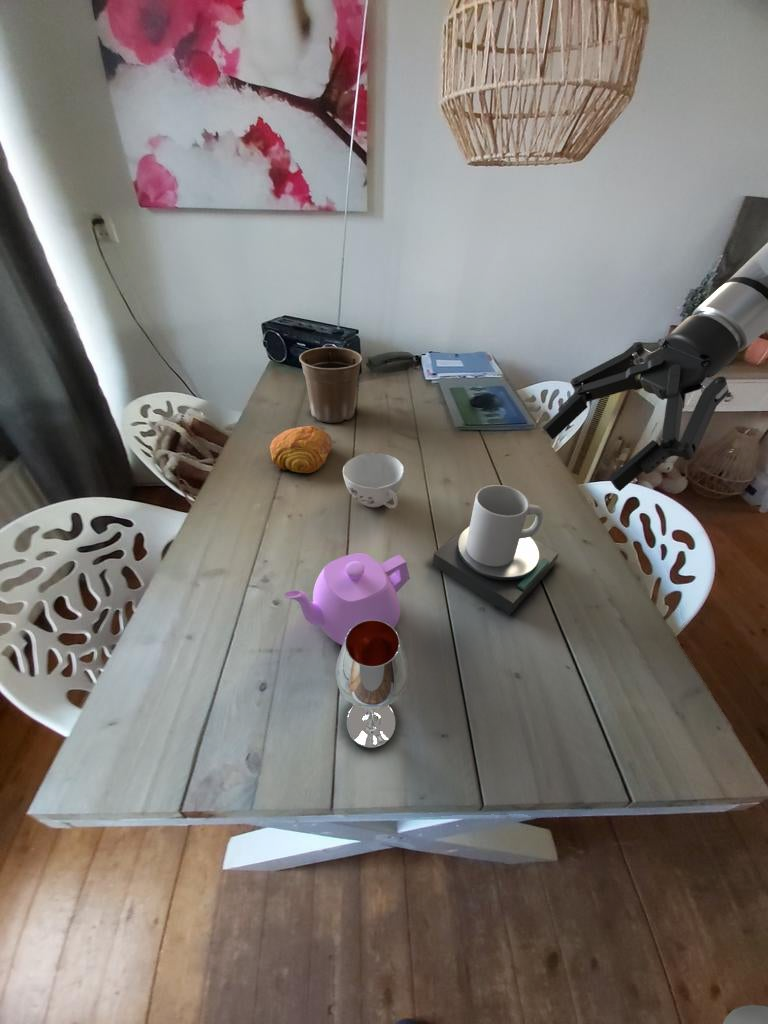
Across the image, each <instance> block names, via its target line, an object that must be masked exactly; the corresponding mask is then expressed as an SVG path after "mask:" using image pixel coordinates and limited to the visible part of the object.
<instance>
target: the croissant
mask: <svg viewBox="0 0 768 1024" xmlns="http://www.w3.org/2000/svg"><path fill="white" fill-rule="evenodd" d="M331 438H332V437H331V436H330V434H329V433H328V432H326V431H324V430H323V429H320V428H318V427H316V426H313V425H305V426H299V427H293V428H290V429H287V430H284V431H282V432H281V433H279V434H278V435H277V436H275V437H274V438H273V439H272V440H271V442H270V446H269V450H270V452H269V453H270V455H271V456H270V457H271V461H272V463H274V465H275V466H276V467H277V468H278V469H282V470H283V471H288V470H289V471H291V472H294V473H301V474H303V473H304V474H310V473H314V472H316V471H318V470H319V469H320V468H321V467H322V466H323V465H324V464H325V463H326V460H327V458H328V456H329V453H330V452H331V450H332V439H331Z"/></svg>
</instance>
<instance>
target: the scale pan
mask: <svg viewBox="0 0 768 1024" xmlns="http://www.w3.org/2000/svg"><path fill="white" fill-rule="evenodd" d="M469 527H470V526H469ZM469 527H468V528H466V527H465V528H466V529H465V528H464V529H465V530H464V531H463V532H462V534H461V535H460V537H459V541H458V551H459V554H460V556H461V558H462V559H463V561H464V562H465V563H466V564H467V565H468V566H469V567H470V568H471V569H473V570H474V571H476V572H477V573H479V574H481V575H484V576H486V577H489V578H493V579H498V580H516V579H520V578H523V577H525V576H527V575H529V574H530V573H532V572H533V571H534V569H535V568H536V566H537V564H538V561H539V551H538V548H537V546H536V544H535V542H534V541H533V540H532V539H533V538H532V537H528V538H522V539H519V543H518V546H517V550H516V554H515V556H514V558H513V560H512V561H511V562H510V563H508V564H506V565H503V566H498V567H492V566H486V565H483V564H481V563H479V562H477V561H475V560H474V559H473V558H472V557H471V556H470V555H469V554H468V552H467V549H466V541H467V536H468V532H469ZM531 538H532V539H531Z"/></svg>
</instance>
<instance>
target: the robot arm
mask: <svg viewBox="0 0 768 1024" xmlns="http://www.w3.org/2000/svg"><path fill="white" fill-rule="evenodd" d="M767 330H768V242H766V243H765V244H764V245H763V246H762V247H761V248H760V249H759V250H758V251H757V252H756V253H755V254H754V255H752V257H750V259H749V260H748V261H746V262H745V264H743V265H742V266H741V267H740V268H739V269H738V270H737V271H736V272H735V273H734V274H732V276H731V277H730V278H729V279H728V280H726V281H725V282H724V283H723V284H722V285H721V286H720V287H718V288H717V289H716V290H715V291H714V292H713V293H712V294H711V295H710V296H709V297H708V298H707V299H705V300H704V301H703V302H702V303H701V304H700V305H699V306H698V307H696V308H695V309H694V311H693V312H692V313H691V315H690V316H687V317H686V318H685V319H684V320H683V321H682V322H681V323H679V325H677V326H676V327H675V328H674V329H673V330H672V331H671V332H670V333H669V334H668V335H667V336H666V338H665V339H664V341H663V342H662V344H661V345H660V347H659V348H657V349H655V350H653V351H649V350H648V349H647V348H645V346H644V344H643V342H642V341H637V342H635V343H633V344H632V345H631V346H630V347H629V348H627V349H626V350H625V351H623V352H621V354H619V355H616V356H614V357H612V358H611V359H608V360H606V361H604V362H603V363H600V364H599V365H597V366H595V367H593V368H591V369H589V370H587V371H585V372H583V373H581V374H579V375H577V376H575V377H574V378H571V380H570V385H571V387H572V389H573V390H574V392H573V394H572V395H570V397H569V398H567V399H566V400H565V401H564V402H563V403H562V404H561V405H560V406H559V407H558V409H557V410H558V412H556V414H555V415H554V416H552V417H551V418H550V420H549V421H548V422H546V423H545V424H544V425H543V426H542V429H543V431H544V432H545V433H546V434H547V436H548V437H549V438H550V439H551V440H554V439H555V438H556V437H558V435H560V433H562V432H563V431H564V430H565V429H566V428H567V427H568V426H569V425H570V424H571V423H573V422H574V421H575V420H576V419H577V418H578V417H579V416H580V415H581V414H582V413H583V412H584V411H585V410H587V408H588V402H592V401H596V400H598V399H603V398H605V397H609V396H612V395H613V396H614V395H616V394H619V393H622V392H627V391H631V390H634V391H639V390H642V389H643V391H645V392H646V393H648V394H653V395H655V396H656V397H657V398H658V399H660V400H661V401H664V400H666V403H665V411H664V417H663V423H662V431H661V432H662V433H661V438H659V439H658V441H659V443H660V444H659V443H658V442H657V441H655V440H653V439H652V440H651V441H650V442H648V443H647V444H646V445H645V446H644V447H642V449H641V450H639V451H638V452H637V453H636V454H634V455H633V456H632V457H631V458H630V459H629V460H627V462H625V463H624V464H623V465H622V466H621V467H620V468H619V469H618V470H616V471H615V472H614V473H613V474H612V475H611V476H609V477H608V480H609V481H610V482H611V484H612V485H613V487H614V488H615V489H616V490H617V491H618V492H621V491H622V490H624V489H625V488H626V487H627V486H628V485H629V484H630V483H632V482H633V481H634V480H635V479H636V478H637V477H638V476H639V475H641V474H642V473H644V474H645V475H648V474H650V473H652V472H654V471H655V470H656V469H657V468H658V467H660V466H661V464H663V463H664V462H665V461H666V460H667V459H669V458H671V457H678V458H682V459H683V460H685V461H690V460H692V459H694V458H695V455H696V454H697V451H698V449H699V446H700V445H701V442H702V441H703V437H704V435H705V434H706V431H707V428H708V426H709V424H710V422H711V420H712V417H713V415H714V413H715V411H716V409H717V407H718V405H719V404H720V403H722V401H723V400H724V399H725V398H726V397H727V396H728V395H729V393H730V391H729V387H728V386H729V385H728V382H727V379H726V377H724V376H718V377H715V378H713V377H714V376H716V375H717V374H718V373H719V372H721V371H722V370H723V369H724V368H726V367H727V366H728V365H729V364H730V363H731V362H732V361H733V360H734V359H736V357H737V356H738V353H740V352H742V351H744V350H745V349H746V348H747V347H749V346H750V345H751V344H752V343H753V342H754V341H756V340H757V339H758V338H759V337H760V336H761V335H762V334H763V333H765V332H766V331H767ZM638 376H639V377H638ZM698 390H700V393H701V394H700V396H699V397H698V400H697V403H696V405H695V407H694V408H693V410H692V413H691V415H690V418H689V419H688V422H687V424H686V426H685V429H684V431H683V433H682V435H681V437H680V432H681V425H682V416H683V410H684V408H685V405H686V404H685V403H686V396H687V394H690V393H693V392H696V391H698ZM722 1024H768V1006H765V1005H757V1004H749V1005H744V1006H742V1005H741V1006H740V1007H739V1006H738V1007H737V1008H734V1009H732V1010H731V1011H730V1012H729V1013H728V1014H727V1015H726V1016H725V1018H724V1020H723V1022H722Z"/></svg>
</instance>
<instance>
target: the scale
mask: <svg viewBox="0 0 768 1024" xmlns="http://www.w3.org/2000/svg"><path fill="white" fill-rule="evenodd" d="M469 526H470V524H468V525H467V526H466V527H464V528H463V529H462V530H461V531H460V532H458V533H457V534H456V535H455V536H454V537H452V538H451V539H450V540H448V541H447V542H446V543H445V544H443V545H442V546H441V547H440V548H438V549H437V550H436V551H435V552H434V553H433V557H432V567H434V568H436V569H438V570H439V571H440V572H442V573H444V574H445V575H447V576H448V577H450V578H451V579H453V580H454V581H456V582H458V583H459V584H461V585H462V586H463V587H465V588H467V589H468V590H469V591H471V592H473V593H475V594H476V595H477V596H479V597H481V598H482V599H484V600H485V601H487V602H488V603H490V604H491V605H493V606H494V607H496V608H497V609H498V610H500V611H502V612H504V613H505V614H507V615H508V616H510V615H511V614H512V613H513V612H514V611H515V610H516V609H517V607H518V606H519V605H520V604H521V603H522V602H523V601H524V600H525V599H526V598H527V596H529V594H530V593H532V591H533V589H534V588H535V587H536V586H538V584H539V583H540V582H541V580H543V579H544V577H545V576H546V575H547V574H548V573H549V572H550V571H551V570H552V568H553V567H554V566H555V564H556V563H557V559H558V557H559V555H560V553H559V551H556V550H554V549H552V548H551V547H549V546H547V545H545V544H543V543H542V542H539V541H537V540H535V539H533V538H532V537H530V538H531V539H532V540H533V541H534V542H535V544H536V546H537V548H538V551H539V561H538V564H537V566H536V568H535V569H534V571H533V572H532V573H530V574H529V575H527V576H525V577H523V578H520V579H516V580H498V579H493V578H489V577H486V576H484V575H481V574H479V573H477V572H476V571H474V570H473V569H471V568H470V567H469V566H468V565H467V564H466V563H465V562H464V561H463V559H462V558H461V556H460V554H459V551H458V541H459V537H460V535H461V534H462V532H463V531H464V530H465V529H466V528H468V527H469Z"/></svg>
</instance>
